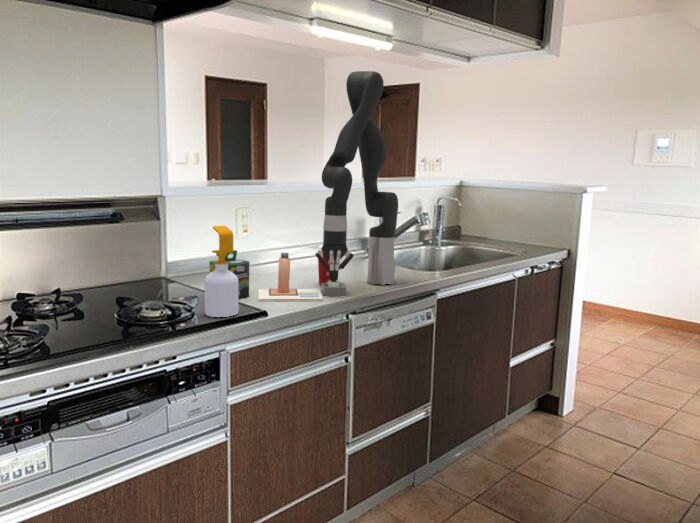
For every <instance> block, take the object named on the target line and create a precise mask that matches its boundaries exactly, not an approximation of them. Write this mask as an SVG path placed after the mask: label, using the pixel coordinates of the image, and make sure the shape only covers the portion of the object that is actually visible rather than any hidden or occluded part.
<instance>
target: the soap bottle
mask: <svg viewBox="0 0 700 523" xmlns="http://www.w3.org/2000/svg"><path fill="white" fill-rule="evenodd" d="M212 229H213V230H214V231H216V232H217V234H218V239H219V240H218V241H219V242H218V249H215V250H211V253H213V254H216V257H218V259H217V260H218V261H216V262H215V270H214V271H213V272H211V273H210V272H209V273H208V274H207V275H206V276H205V279H204V314H205V316H207V317H209V316H210V317H209V318H213V317H218V318H217V319H220V318H219V317H228V318H230V317H229V316H233V315H235V316H237V315H238V314H239V298H238V278H237V276H236V275H235V274H234V273H232V272H231V271H229V270H228V261H225V256H227V253H232V252H233V250H234V232H233V231H232V230H231V229H230V228H229V227H228V226H227V225H213V226H212ZM236 314H237V315H236ZM233 317H234V316H233Z"/></svg>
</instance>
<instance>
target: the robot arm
mask: <svg viewBox="0 0 700 523" xmlns="http://www.w3.org/2000/svg"><path fill="white" fill-rule="evenodd" d="M346 78H347V79H346V84H345V86H346V94H347V98H348V102H349V103H348V104H349V106H350V110H351V114H352V116H351V117H350V118H349V119H348V121H347V122H346V123H345V124H344V126H343V127H342V129H341V130H340V132H339V134H338V136H337V140H336V143H335V146H334V149H333V152H332V154H331V155H330V157H329V158H328V160H327V162H326V164H325V166H324V167H323V170H322V172H321V173H322V174H321V182H322V184H323V186H324V187H325V188H328V189H332V194H331V195H330V196H328V197H326V198H325V202H324V218H323V225H322V226H323V228H322V229H323V239H322V241H323V244H322V245H323V246H322V250H321V251H319V252H318V251H317V252H315V254H314V255H315V257H316V258H317V260H318V259H319V261H320V262H321V263H322V265H323V266H324V267H325V268H326V269H329V279H330V280H331V282H336V280H337V281H339V271H340V270H343V269H344V268H345V267H346V266H348V264H349V263H350V261H352V259H353V258H354V254H353V253H352V252H350V251H349V250H348V247H347V236H348V235H347V234H348V233H347V231H348V220H347V212H348V210H347V208H348V207H347V206H348V204H347V203H348V200H349V196H350V193H351V189H352V186H353V175H352V172H351V171H350V169H349V168H347V167H346V165H348V164H350V163H353V161H354V160H355V158H356V154H357V152H358V153H359V159H360V163H361V164H360V165H361V170H362V171H361V172H362V177H363V186H364V187H363V188H364V190H363V191H364V202H365V204H364V205H365V209H366V212H367V214H368V215H369V216H370V217H373V218H382V222H381V224H379V225H376V226H373V227H370V228H369V235H368V236H369V237H368V256H367V258H368V259H367V263H368V264H367V283H368V282H369V283H371V284H370V285H374V284H380V285H379V286H386V285H385V284H390V285H394V284H395V270H396V258H395V257H394V256H395V237H396V235H395V234H396V230H397V223H398V212H399V199H398V196H397V194H396V193H395V192H392V191H391V192H390V191H379V189H378V177H379V176H380V173H381V170H382V168H383V166H384V164H385V162H386V160H387V147H386V140H385V136H384V134H383V132H382V130H381V129H380V127H379V126H378V124H377V123H376V121H375V119H374V118H373V117H372V115H373V113H374V111H375V110H376V107H377V105H378V103H379V101H380V99H381V97H382V94H383V92H384V91H383V90H384V78H383V76H382V75H381V73H380V72H378V71H375V70H373V71H369V70H366V71H365V70H364V71H361V70H360V71H359V70H357V71H352V72H350V73H349V75H348V77H346ZM323 253H324V254H325V256H326V257H327V259H329V265H327V264H326V262H325V261H324V260H323V258H322V257H323ZM343 257H345V258H344V260H343V261H342V262H341V260H342V259H343ZM334 260H335V266H334ZM340 262H341V263H340ZM369 283H368V284H369Z"/></svg>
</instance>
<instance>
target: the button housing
mask: <svg viewBox="0 0 700 523" xmlns="http://www.w3.org/2000/svg"><path fill="white" fill-rule="evenodd" d="M320 293H321V295H322V294H323V295H322V297H323V296H346V297H347V287H346V284H345V283H344V282H340V287H328V283H321V286H320Z"/></svg>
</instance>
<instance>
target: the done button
mask: <svg viewBox="0 0 700 523" xmlns="http://www.w3.org/2000/svg"><path fill="white" fill-rule="evenodd" d="M340 283H341V282H340V280H336V282H331V280H330V281H328V287H340Z"/></svg>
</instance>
